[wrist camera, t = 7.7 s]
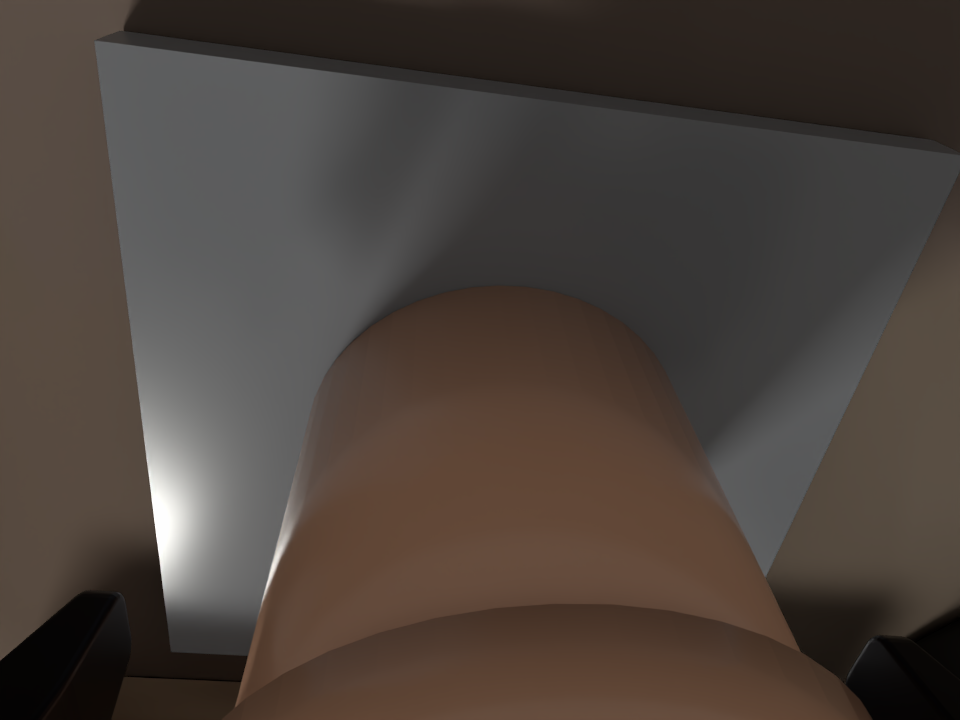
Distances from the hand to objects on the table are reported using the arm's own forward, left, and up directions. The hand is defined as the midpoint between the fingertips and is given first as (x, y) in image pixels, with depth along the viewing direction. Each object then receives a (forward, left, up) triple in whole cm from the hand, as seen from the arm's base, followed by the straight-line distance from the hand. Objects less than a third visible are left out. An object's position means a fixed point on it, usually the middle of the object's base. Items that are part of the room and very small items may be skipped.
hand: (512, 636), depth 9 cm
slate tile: (0, 0, -4) cm, 4 cm away
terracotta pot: (0, 0, -4) cm, 4 cm away
